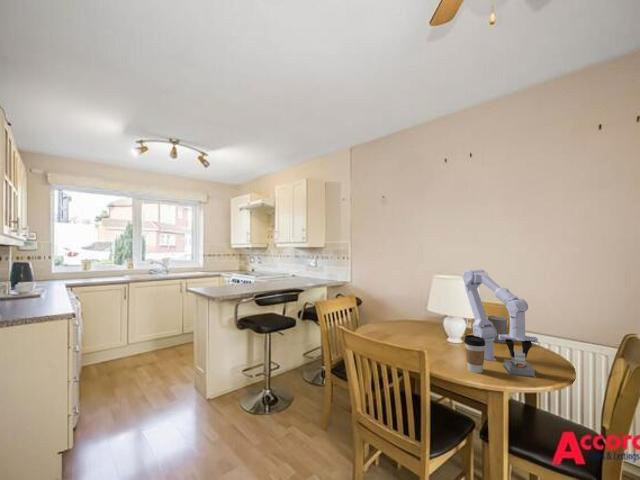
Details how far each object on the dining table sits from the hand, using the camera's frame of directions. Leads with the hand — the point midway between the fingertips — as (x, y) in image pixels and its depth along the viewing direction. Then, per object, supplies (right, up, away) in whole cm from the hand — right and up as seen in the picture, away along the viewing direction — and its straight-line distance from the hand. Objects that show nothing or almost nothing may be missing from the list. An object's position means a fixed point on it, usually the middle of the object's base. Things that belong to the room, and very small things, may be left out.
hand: (518, 357), depth 127 cm
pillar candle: (+16, -7, +41) cm, 45 cm away
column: (0, -4, 0) cm, 4 cm away
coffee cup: (-18, -7, +2) cm, 20 cm away
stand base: (0, -7, 0) cm, 6 cm away
